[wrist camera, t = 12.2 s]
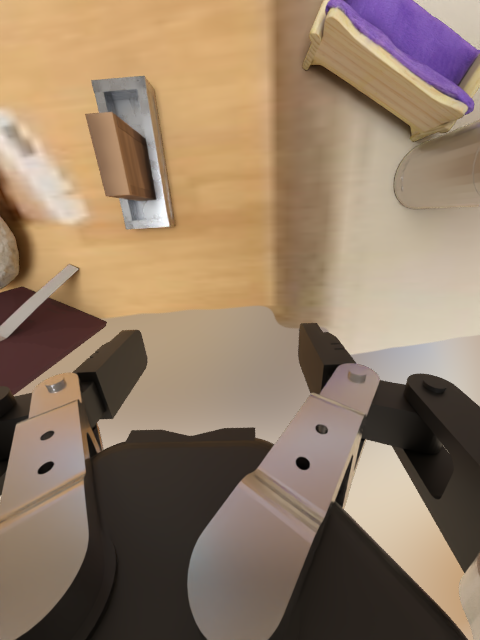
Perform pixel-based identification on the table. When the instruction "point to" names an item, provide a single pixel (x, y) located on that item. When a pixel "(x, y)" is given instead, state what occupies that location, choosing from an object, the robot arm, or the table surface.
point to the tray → (141, 114)
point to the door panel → (121, 158)
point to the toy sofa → (398, 60)
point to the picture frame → (39, 331)
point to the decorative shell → (7, 255)
